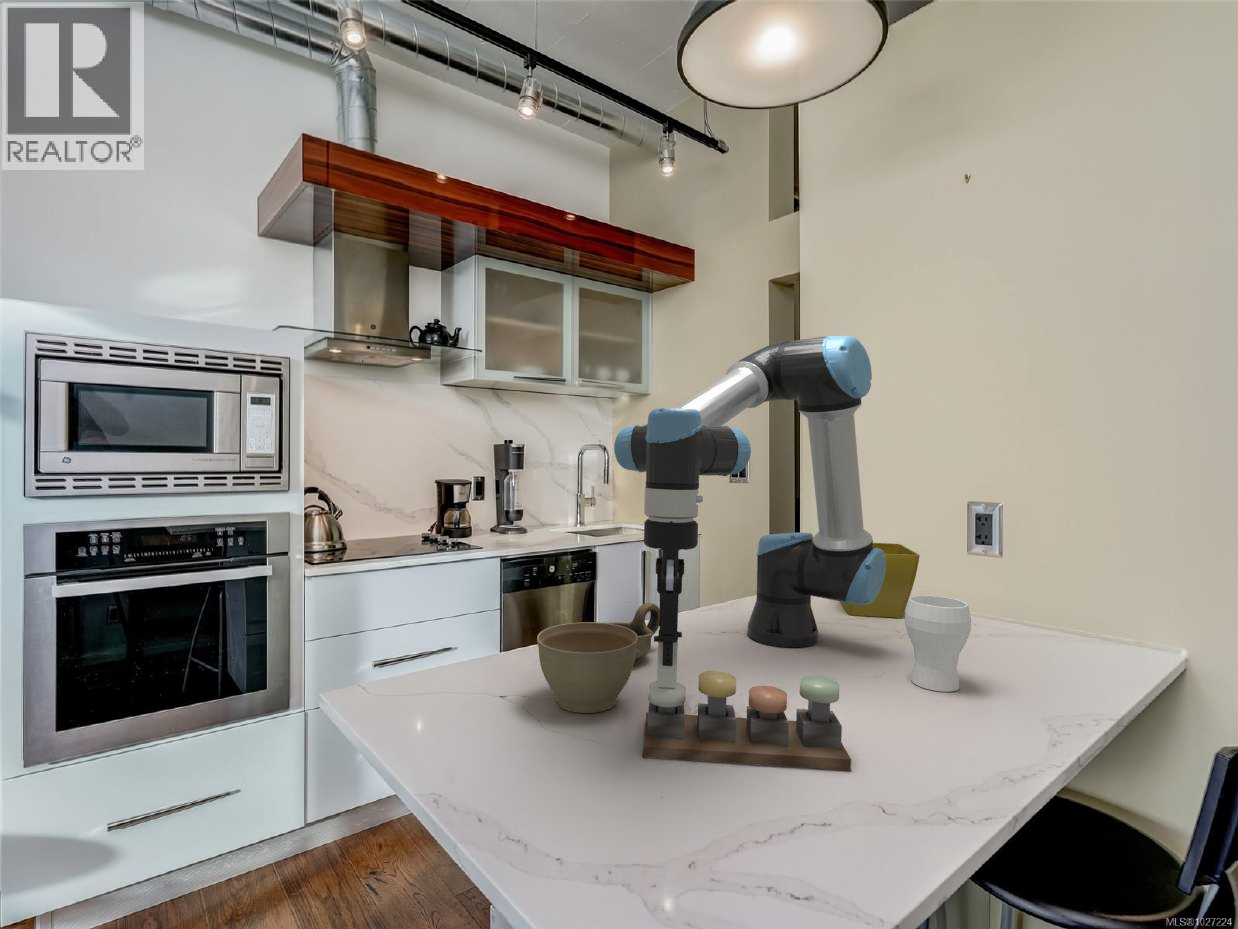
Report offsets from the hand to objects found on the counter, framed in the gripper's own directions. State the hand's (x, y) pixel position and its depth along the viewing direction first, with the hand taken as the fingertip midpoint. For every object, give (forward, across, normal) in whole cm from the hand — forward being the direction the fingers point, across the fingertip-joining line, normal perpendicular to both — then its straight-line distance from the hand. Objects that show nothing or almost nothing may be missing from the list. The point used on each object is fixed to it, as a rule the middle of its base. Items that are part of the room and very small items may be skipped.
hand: (666, 685), depth 90 cm
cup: (+8, +29, -48) cm, 57 cm away
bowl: (+8, +35, +8) cm, 37 cm away
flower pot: (+8, +81, -52) cm, 97 cm away
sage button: (+4, 0, -21) cm, 21 cm away
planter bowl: (+8, +12, +13) cm, 19 cm away
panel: (+8, 0, -11) cm, 13 cm away
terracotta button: (+6, 0, -14) cm, 15 cm away
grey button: (+6, 0, 0) cm, 6 cm away
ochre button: (+4, 0, -7) cm, 8 cm away
